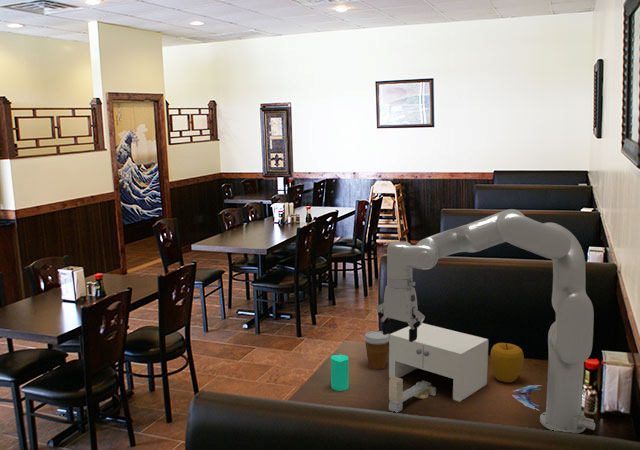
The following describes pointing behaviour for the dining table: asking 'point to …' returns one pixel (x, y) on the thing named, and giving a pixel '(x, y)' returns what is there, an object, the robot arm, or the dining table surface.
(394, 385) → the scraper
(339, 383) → the candle
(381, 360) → the disposable coffee cup
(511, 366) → the apple
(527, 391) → the decorative blades
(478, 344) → the cabinet
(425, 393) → the brass token
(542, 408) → the dining table surface
